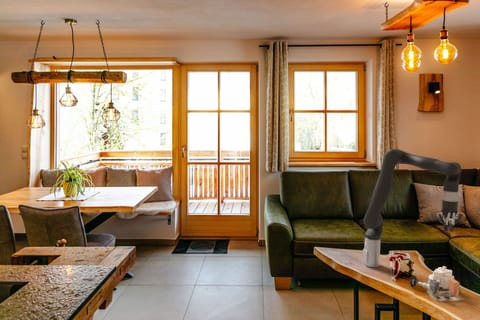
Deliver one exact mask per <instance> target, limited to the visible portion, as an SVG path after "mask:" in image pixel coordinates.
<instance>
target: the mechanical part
mask: <svg viewBox="0 0 480 320" xmlns="http://www.w3.org/2000/svg"><path fill="white" fill-rule="evenodd" d="M428 280H436V281H438V282H439V288H442V291H445V290H449V289H448V288H449V280H455V276H454V275H453V270H452V269H447V266H444V265H443V266H442V267H441V266H440V267H439V266H438V268H435V269H434V271H433V272H432V274H429V275H428Z"/></svg>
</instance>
